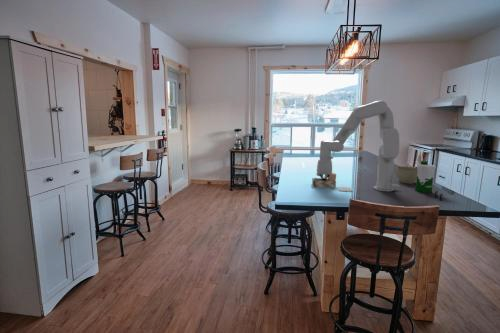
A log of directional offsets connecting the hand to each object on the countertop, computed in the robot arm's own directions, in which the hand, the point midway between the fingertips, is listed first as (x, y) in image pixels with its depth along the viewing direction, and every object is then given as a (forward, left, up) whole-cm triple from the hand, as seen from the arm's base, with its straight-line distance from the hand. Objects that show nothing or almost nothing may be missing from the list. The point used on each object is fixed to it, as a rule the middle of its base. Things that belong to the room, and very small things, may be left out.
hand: (323, 183), depth 206 cm
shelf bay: (0, 0, -1) cm, 1 cm away
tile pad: (-13, +9, -1) cm, 15 cm away
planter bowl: (-65, -20, -2) cm, 68 cm away
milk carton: (-65, +6, -2) cm, 65 cm away
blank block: (-5, 0, -1) cm, 5 cm away
